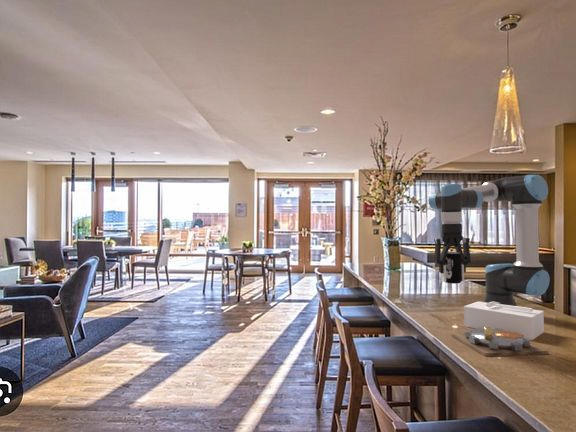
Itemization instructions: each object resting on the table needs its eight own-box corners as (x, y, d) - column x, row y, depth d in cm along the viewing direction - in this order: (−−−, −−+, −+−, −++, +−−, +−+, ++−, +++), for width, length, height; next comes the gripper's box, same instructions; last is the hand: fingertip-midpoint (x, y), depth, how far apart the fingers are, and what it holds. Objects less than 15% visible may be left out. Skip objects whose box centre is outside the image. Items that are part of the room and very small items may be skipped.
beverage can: (463, 284, 147) (463, 252, 147) (445, 283, 148) (445, 252, 148) (459, 281, 153) (459, 251, 153) (442, 280, 154) (441, 251, 154)
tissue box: (478, 320, 169) (478, 296, 169) (543, 332, 150) (543, 305, 150) (464, 326, 159) (463, 300, 159) (532, 340, 141) (531, 311, 141)
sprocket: (479, 329, 149) (479, 314, 150) (538, 341, 134) (537, 324, 134) (455, 340, 136) (455, 323, 136) (517, 355, 121) (517, 336, 121)
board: (507, 335, 147) (507, 331, 147) (548, 353, 126) (548, 350, 126) (452, 336, 145) (452, 333, 145) (484, 356, 124) (484, 352, 124)
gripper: (469, 222, 155) (470, 279, 155) (423, 223, 154) (424, 280, 153) (480, 222, 148) (481, 282, 148) (432, 223, 146) (433, 283, 146)
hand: (452, 281), depth 150 cm, fingers closed on beverage can, 7 cm apart
